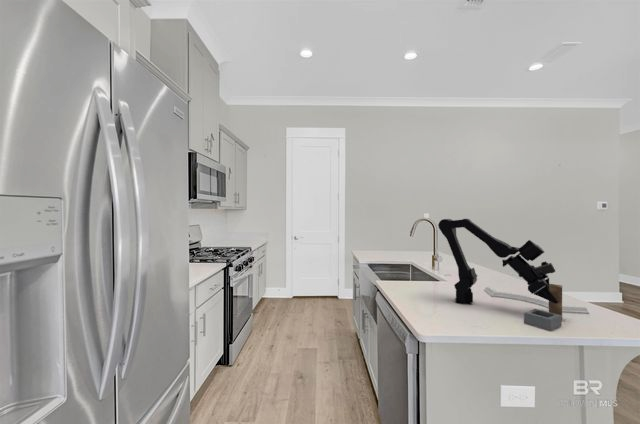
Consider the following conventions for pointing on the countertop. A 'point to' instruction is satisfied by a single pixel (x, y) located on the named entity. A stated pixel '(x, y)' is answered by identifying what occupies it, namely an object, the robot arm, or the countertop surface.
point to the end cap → (543, 319)
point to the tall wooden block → (557, 293)
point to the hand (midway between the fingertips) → (557, 300)
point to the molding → (534, 301)
